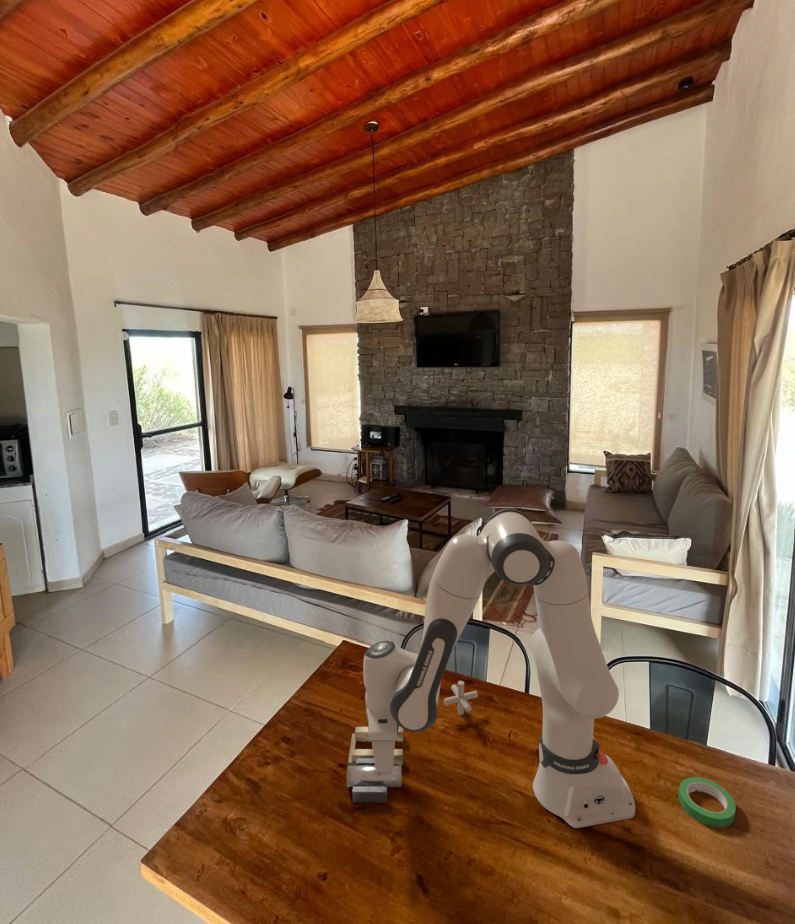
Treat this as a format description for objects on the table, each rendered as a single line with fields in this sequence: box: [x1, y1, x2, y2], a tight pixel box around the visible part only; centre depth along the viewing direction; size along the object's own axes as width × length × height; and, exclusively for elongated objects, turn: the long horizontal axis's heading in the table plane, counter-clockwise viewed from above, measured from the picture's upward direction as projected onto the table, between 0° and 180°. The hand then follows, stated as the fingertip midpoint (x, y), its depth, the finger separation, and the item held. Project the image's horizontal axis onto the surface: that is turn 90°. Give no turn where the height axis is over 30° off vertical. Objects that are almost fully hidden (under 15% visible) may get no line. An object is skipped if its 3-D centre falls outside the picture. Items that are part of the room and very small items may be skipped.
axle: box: [346, 765, 402, 788], centre depth 125 cm, size 13×4×4 cm, turn 88°
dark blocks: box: [351, 758, 388, 804], centre depth 126 cm, size 8×10×3 cm
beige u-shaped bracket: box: [347, 726, 404, 766], centre depth 136 cm, size 14×10×3 cm
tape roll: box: [678, 776, 737, 828], centre depth 118 cm, size 11×11×3 cm
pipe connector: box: [443, 680, 479, 716], centre depth 148 cm, size 10×10×10 cm
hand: (388, 756), depth 125 cm, fingers open, 8 cm apart
